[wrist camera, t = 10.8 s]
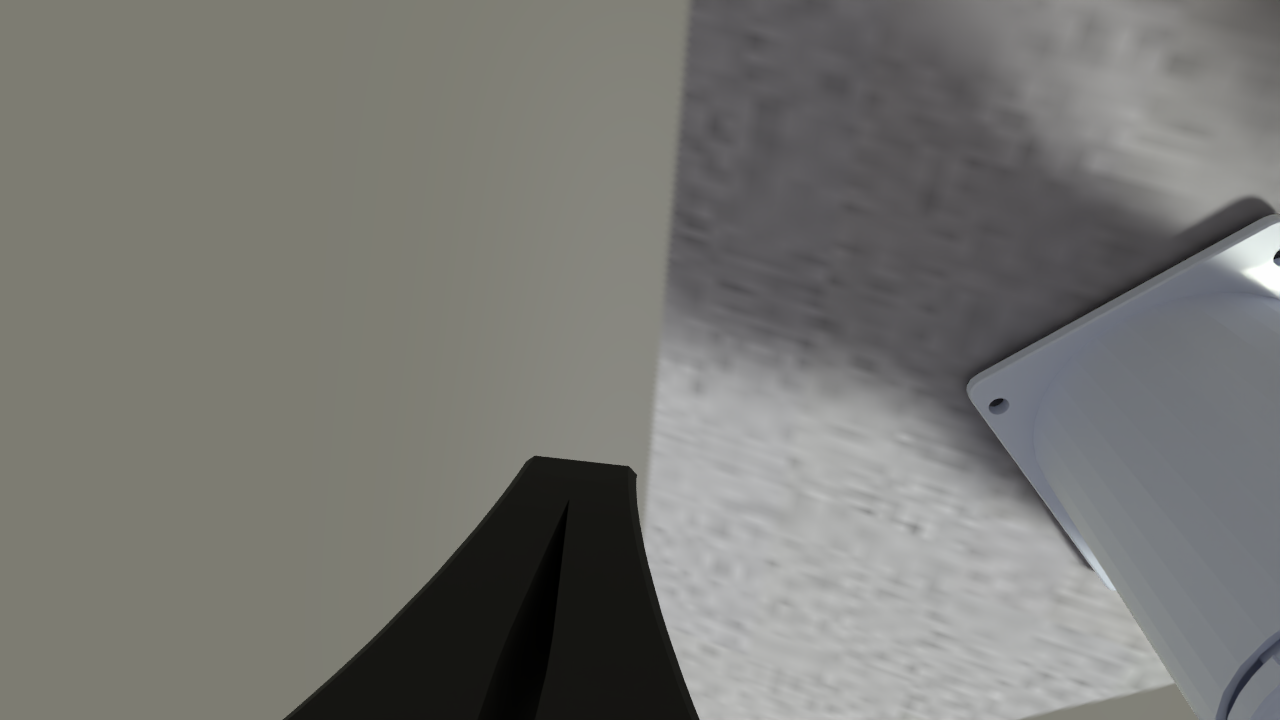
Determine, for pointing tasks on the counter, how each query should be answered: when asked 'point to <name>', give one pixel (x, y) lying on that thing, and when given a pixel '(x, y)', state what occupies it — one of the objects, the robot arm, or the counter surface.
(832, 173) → the counter surface
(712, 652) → the counter surface
